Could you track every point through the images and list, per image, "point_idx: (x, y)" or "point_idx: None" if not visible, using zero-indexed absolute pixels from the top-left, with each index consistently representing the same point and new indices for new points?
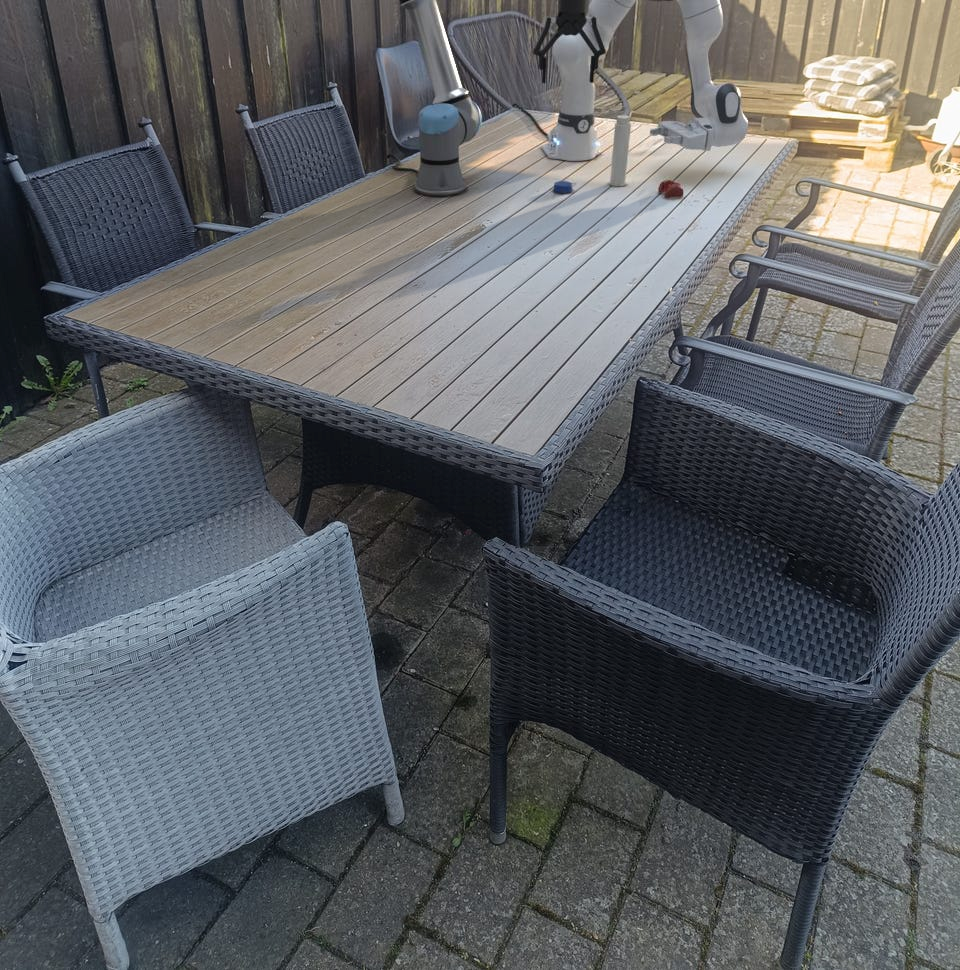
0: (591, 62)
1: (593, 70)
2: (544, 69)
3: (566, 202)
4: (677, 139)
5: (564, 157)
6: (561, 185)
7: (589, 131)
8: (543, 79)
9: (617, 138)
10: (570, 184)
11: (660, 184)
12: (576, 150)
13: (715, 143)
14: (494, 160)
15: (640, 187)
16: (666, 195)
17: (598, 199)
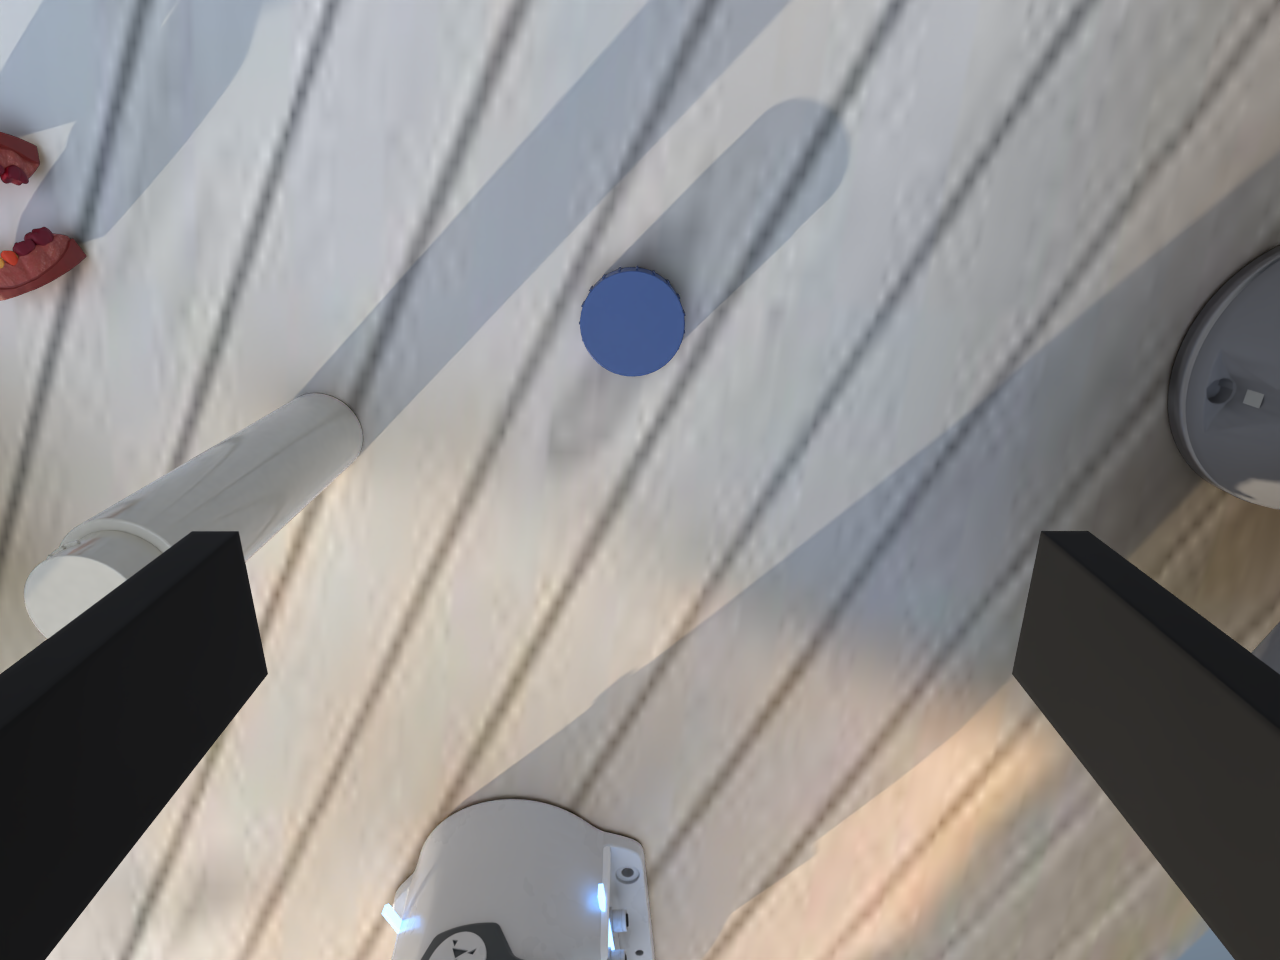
0: (11, 827)
1: (61, 641)
2: (1231, 654)
3: (635, 90)
4: None
5: (570, 824)
6: (647, 287)
7: (425, 947)
8: (1115, 556)
9: (215, 496)
10: (591, 305)
11: (48, 269)
12: (509, 844)
13: None
14: (906, 826)
15: (194, 373)
16: (21, 139)
17: (440, 147)
